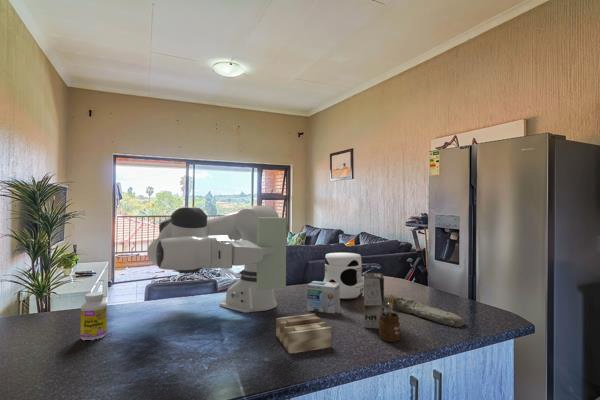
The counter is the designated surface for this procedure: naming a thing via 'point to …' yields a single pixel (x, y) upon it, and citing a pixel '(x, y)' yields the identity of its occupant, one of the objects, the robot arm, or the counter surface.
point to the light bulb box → (323, 297)
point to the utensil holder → (389, 324)
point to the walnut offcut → (302, 321)
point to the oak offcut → (306, 327)
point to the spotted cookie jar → (345, 274)
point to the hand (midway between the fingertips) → (271, 249)
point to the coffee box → (373, 299)
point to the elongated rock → (424, 311)
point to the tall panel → (273, 265)
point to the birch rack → (303, 335)
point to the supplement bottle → (93, 317)
